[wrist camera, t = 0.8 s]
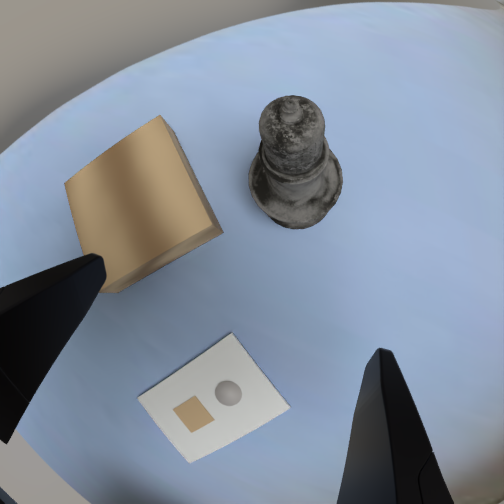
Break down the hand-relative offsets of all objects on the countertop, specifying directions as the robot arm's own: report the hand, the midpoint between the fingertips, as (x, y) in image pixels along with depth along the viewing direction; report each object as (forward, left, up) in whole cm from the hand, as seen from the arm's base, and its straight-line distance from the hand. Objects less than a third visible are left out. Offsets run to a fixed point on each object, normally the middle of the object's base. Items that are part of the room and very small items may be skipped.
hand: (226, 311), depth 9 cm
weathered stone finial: (+5, +6, -13) cm, 15 cm away
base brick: (-6, +11, -13) cm, 18 cm away
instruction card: (-8, -5, -13) cm, 16 cm away
